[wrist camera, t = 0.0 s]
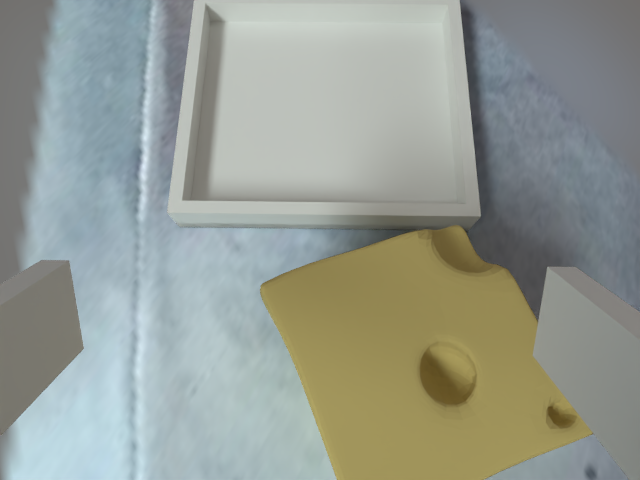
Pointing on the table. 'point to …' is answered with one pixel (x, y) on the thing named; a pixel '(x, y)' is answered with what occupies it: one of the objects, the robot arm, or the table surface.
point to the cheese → (419, 361)
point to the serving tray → (325, 117)
